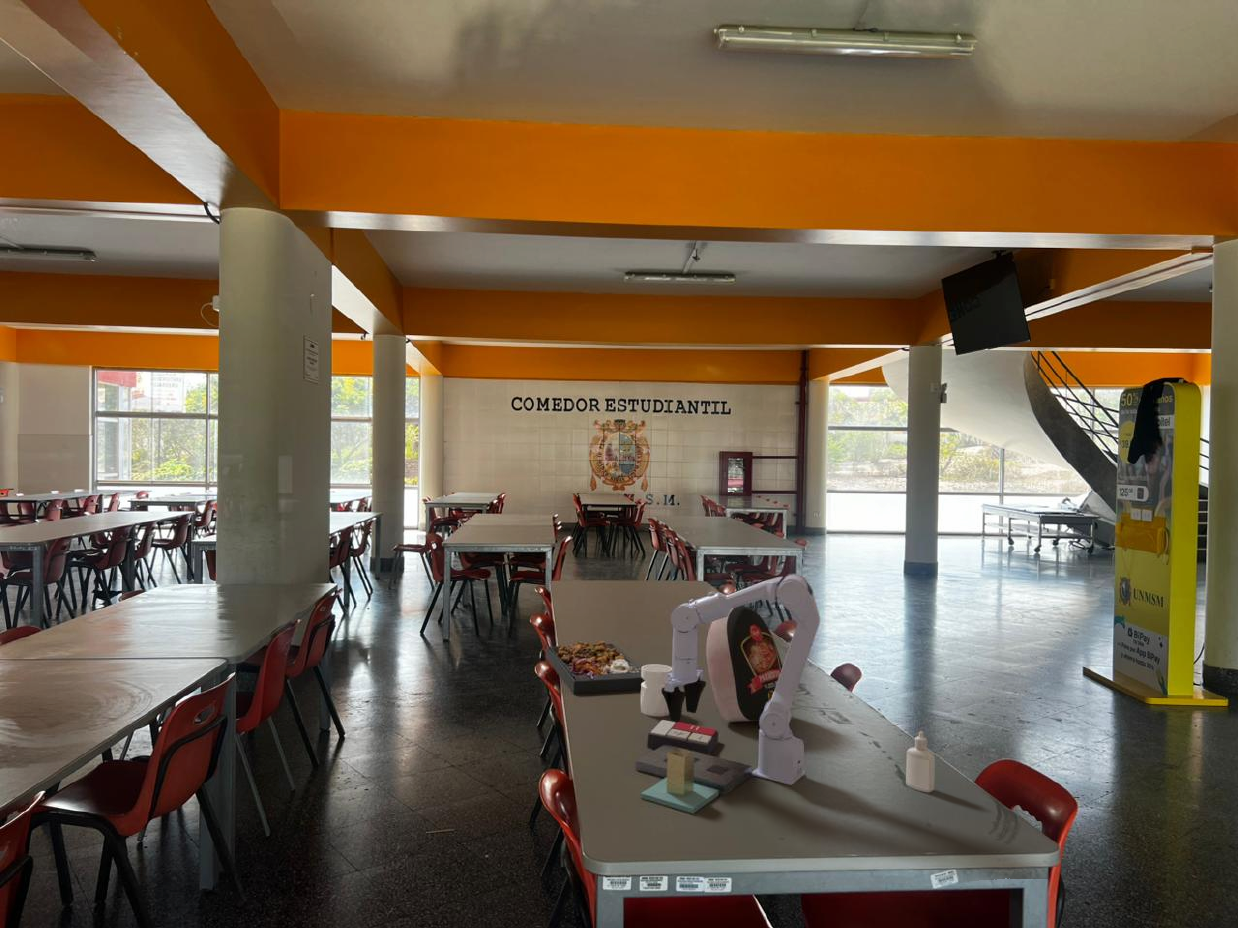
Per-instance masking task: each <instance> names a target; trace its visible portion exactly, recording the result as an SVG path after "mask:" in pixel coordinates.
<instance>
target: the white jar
mask: <svg viewBox="0 0 1238 928" xmlns="http://www.w3.org/2000/svg"><path fill="white" fill-rule="evenodd" d="M669 673H672V666H669V665H666V664H660V663H659V664H657V663H655V664H654V663H653V664H650V663H649V664H645V665H642V666H641V677H642V678H643V679H644V680H645V681H644V682H643V683H642V684H641V691H640V713H641V714H644V715H645V716H650V717H667V716H670V715H669V710H668V706H667V703H666V700H665V698H664V696H663V694H662V693H661V690H662V688H664V687H665V682H666V681H668V679H669V678H670V677H668V674H669Z"/></svg>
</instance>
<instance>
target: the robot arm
mask: <svg viewBox="0 0 1238 928" xmlns="http://www.w3.org/2000/svg"><path fill="white" fill-rule="evenodd" d="M761 600H765V601H768V602H772V603H776V602H777V600H778V602H779V603H780V604H781V605H782V606H783V607H784V608H785V609H786V610H788V611H789V612H790V614H791V616H792V618H793V619H794V621H795V623H796V627H795V629H794V633H793V635H792V637H791V641H790V644H789V647H788V649H787V653H786V656H785V659H784V661H783V663H782V666H783V667H782V670H781V673H780V676H779V679H778V682H777V684H776V687H775V690H774V693H773V696H772V698H771V699H770V700H769V701H768V702H767V703H766V705H765V707H764V711H763V713H762V715H761V717H760V720H759V722H758V723H759V724H758V725H759V727H760V728H759V730H758V763H757V764H758V765H757V766H758V767H757V768H755V769H754V770H753V771H752V773H751V776H755V777H758V778H761V779H765V780H770V781H774V782H777V783H780V784H781V783H782V784H786V785H789V786H793V784H795V783H796V782H797V781H799V779H801V778H802V777H803V776H804V775H805V771H804V765H805V764H804V763H805V762H804V760H805V746H804V744H805V743H804V741H803V739H801V738H797V737H795V735H793V731H792V730H791V728H790V722H791V720H792V718H793V717H792V716H793V709H792V705H793V702H794V699H795V696H796V693H797V690H798V688H799V684H800V681H801V678H802V675H803V673H804V669H805V667H806V664H807V661H808V658H809V656H810V652H811V649H812V646H813V644H814V641H815V637H816V636H817V632H818V629H819V626H820V622H821V616H820V613H819V609H818V606H817V602H816V598H815V595H814V590H813V588H812V586H811V585H810V583H809V582H808V580H807V579H806V578H805V577H804V576H802V575H801V574H798V573H792V574H791V573H790V574H788V575H786V576H785V577H783V576H778V577H773V578H771V579H766V580H763V581H760V582H758V583H756V584H753V585H751V586H748V587H745V588H743V589H740V590H738V591H735V592H732V593H730V594H727V595H726V594H724V593H722V592H715V591H710V592H708V593H707V596H704V597H701V598H698V599H695V600H694V598H692V599H689V600H688V602H686V603H685V602H684V603H682V604H680V605H679V606H678V607H676V608H675V609H674V610H673V611H672V613H671V615H670V622H671V625H672V627H673V636H672V654H671V655H672V657H671V658H672V660H671V663H672V664H671V667H672V673H669V674H668V677H670V678H669V679H668V681H666V682H665V687H664V688H662V690H661V693H662V694H663V696H664V698H665V700H666V703H667V706H668V710H669V715H668V716H669V719H670V721H672V722H677V723H678V722H680V721H681V717H682V712H683V711H682V710H683V704H684V700H685V708H686V709H685V710H686V712H688V713H691V714H696V713H697V711H698V706H699V702H700V699H701V696H702V694H703V691H704V689H705V688H706V685H707V682H706V681H704V680H702V679H703V678H704V670H702V669H698V649H699V648H698V647H699V646H698V645H699V644H698V642H699V640H698V639H699V637H698V625H701V626H703V625H706V624H710V623H712V622H713V621H715V620H718V619H721V618H724V617H727V616H728V615H729V613H730V610H731V609H732V608H736V607H739V606H745V605H748V604H752V603H754V602H758V601H761ZM680 688H683V691H681V689H680Z"/></svg>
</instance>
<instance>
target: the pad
mask: <svg viewBox="0 0 1238 928" xmlns="http://www.w3.org/2000/svg"><path fill="white" fill-rule="evenodd" d="M719 794H720V793H719V790H716V789H713V788H709V787H706V786H702V785H698V784H695V783H694V788H693V792H691V793H690V794H688V795H687V796H685V797H681V796H677V795H674V794H671V793H667V777H666V778H663V779H662V780H660V781H658V782H656V783H655V784H654V785H652V786H650V787H649V788H647V789H646V790H644V791H643V792H641V793H640V799H642V800H646V801H650V802H651V803H656V804H659V805H662V806H666V807H668V808H672V809H675V810H679V811H683V812H684V813H689V814H692V815H693V814H695V813H696V812H698V811H699V810H701V809H702V808H703V807H704V806H706V805H707V804H708V803H710V802H711V801H713V800H714V799H716V798H717V797H718V796H719Z"/></svg>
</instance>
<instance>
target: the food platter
mask: <svg viewBox="0 0 1238 928" xmlns="http://www.w3.org/2000/svg"><path fill="white" fill-rule="evenodd" d="M545 659H546V660H547V661H548V663H549V664H550V665H551V667H552V668H553V670H555V672H556V674H557V675H558V676H559V677H560V679H561V680H562V681H563V683H564V684H565V685H566V686H567V688H568V689H569V691H570V692H571V693H572V694H573V695H587V694H588V695H589V694H604V693H605V694H606V693H608V694H609V693H623V692H641V684H642V683H643V682H644V681H645V680H644V679H643V678H642V677H641V668H642V666H640V665H639V664H638V663H637V662H635V661H634V660H633V659H632V658H631V657H629V656H628V655H627V654H626V653H625V652H624V651H622V650H621V649H620V648H619V647H618V646H617V645H615V644H614V643H606V642H605V641H604V640H600V641H598V642H597V644H596V643H595V644H589V642H582V641H578V642H577V643H576V644H575V643H574V642H573V643H572V644H570V645H560V646H546V648H545Z"/></svg>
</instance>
